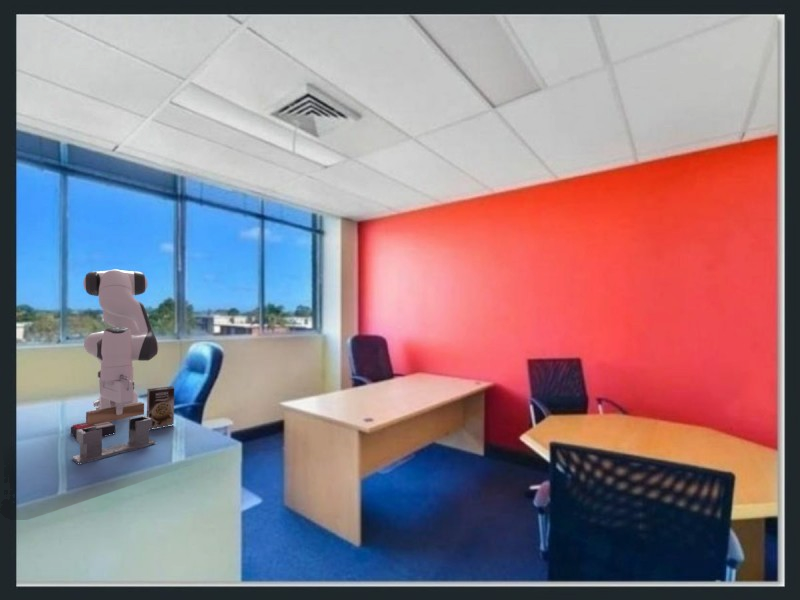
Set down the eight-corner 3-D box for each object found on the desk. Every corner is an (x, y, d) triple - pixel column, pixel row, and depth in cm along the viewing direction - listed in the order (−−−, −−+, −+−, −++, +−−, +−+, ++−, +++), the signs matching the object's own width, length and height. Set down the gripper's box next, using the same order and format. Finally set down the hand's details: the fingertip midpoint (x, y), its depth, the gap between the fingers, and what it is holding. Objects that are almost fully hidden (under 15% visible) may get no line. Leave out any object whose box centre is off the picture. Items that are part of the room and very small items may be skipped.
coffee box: (148, 430, 152) (149, 391, 153) (146, 427, 157) (146, 388, 157) (174, 426, 158) (174, 388, 159) (171, 422, 163) (171, 385, 164)
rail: (85, 423, 125) (86, 411, 125) (140, 413, 138) (140, 402, 138) (88, 425, 124) (89, 413, 124) (143, 414, 137) (144, 403, 137)
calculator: (104, 418, 158) (115, 423, 149) (104, 428, 158) (115, 434, 149) (70, 424, 150) (79, 430, 140) (70, 435, 150) (79, 442, 140)
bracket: (72, 459, 124) (72, 430, 124) (147, 440, 142) (147, 414, 142) (78, 464, 120) (79, 434, 120) (155, 444, 138) (155, 418, 138)
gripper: (139, 375, 128) (138, 416, 128) (116, 369, 140) (116, 406, 139) (117, 378, 123) (116, 420, 122) (95, 372, 134) (95, 410, 134)
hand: (116, 413), depth 131 cm, fingers closed on rail, 3 cm apart
